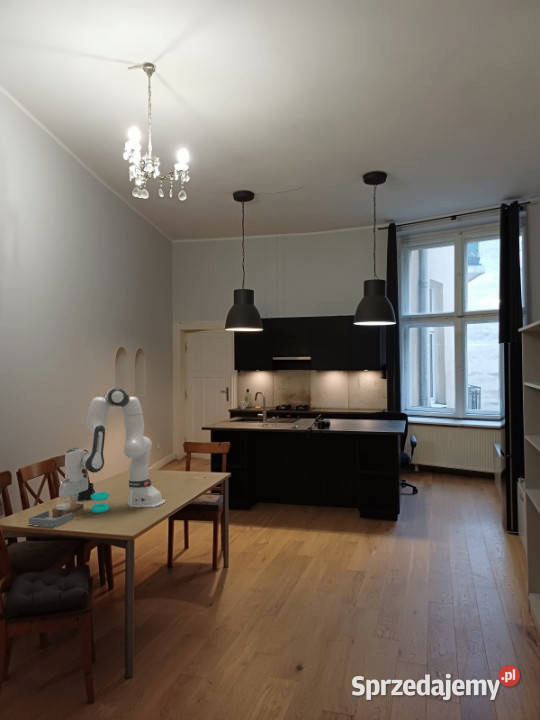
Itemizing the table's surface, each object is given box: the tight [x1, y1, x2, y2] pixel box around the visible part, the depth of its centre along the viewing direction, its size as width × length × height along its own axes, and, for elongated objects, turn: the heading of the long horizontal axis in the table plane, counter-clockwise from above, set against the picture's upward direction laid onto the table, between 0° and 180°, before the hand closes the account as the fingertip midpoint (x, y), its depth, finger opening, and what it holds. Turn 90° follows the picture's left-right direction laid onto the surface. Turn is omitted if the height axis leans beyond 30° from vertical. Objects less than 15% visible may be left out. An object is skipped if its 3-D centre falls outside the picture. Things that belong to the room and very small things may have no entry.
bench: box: [52, 503, 85, 518], centre depth 289 cm, size 11×12×5 cm
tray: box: [28, 510, 74, 529], centre depth 277 cm, size 17×14×4 cm
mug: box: [77, 482, 96, 501], centre depth 324 cm, size 9×12×9 cm
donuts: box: [90, 491, 110, 514], centre depth 297 cm, size 10×10×10 cm
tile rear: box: [63, 499, 77, 507], centre depth 290 cm, size 5×5×2 cm
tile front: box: [55, 502, 70, 510], centre depth 286 cm, size 5×5×2 cm
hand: (74, 501), depth 294 cm, fingers closed
